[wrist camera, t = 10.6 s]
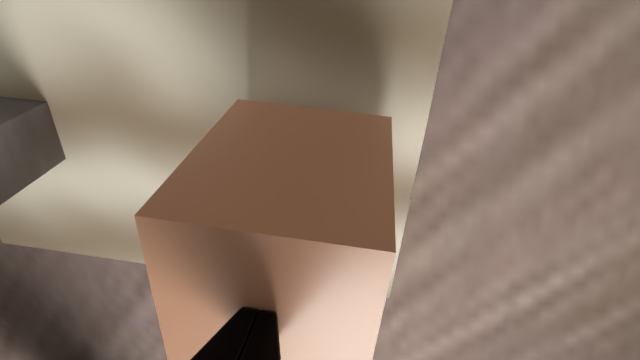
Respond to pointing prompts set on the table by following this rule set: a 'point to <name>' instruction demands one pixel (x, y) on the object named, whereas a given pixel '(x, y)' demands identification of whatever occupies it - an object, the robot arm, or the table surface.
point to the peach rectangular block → (276, 230)
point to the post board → (186, 97)
